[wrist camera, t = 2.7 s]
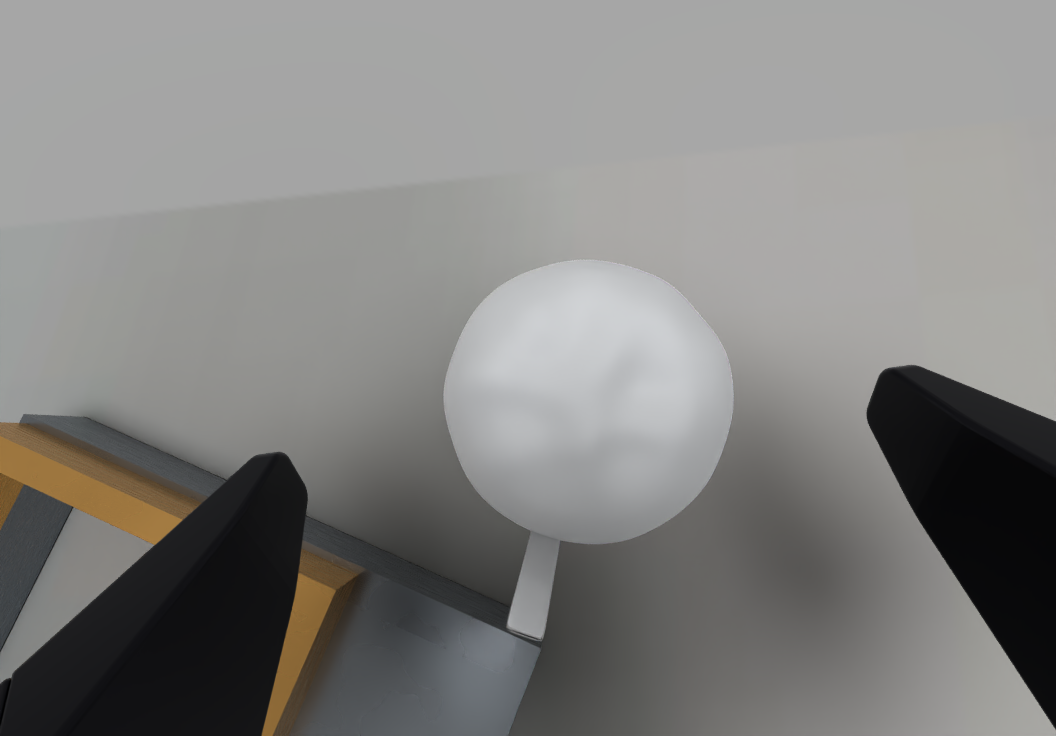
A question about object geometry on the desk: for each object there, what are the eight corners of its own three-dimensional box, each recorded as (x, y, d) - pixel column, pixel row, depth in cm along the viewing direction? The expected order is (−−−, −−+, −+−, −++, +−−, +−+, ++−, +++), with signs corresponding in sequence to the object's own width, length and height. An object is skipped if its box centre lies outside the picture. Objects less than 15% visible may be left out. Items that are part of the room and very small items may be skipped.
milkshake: (468, 490, 16) (340, 572, 6) (521, 328, 17) (481, 168, 7) (610, 538, 16) (714, 704, 6) (658, 370, 16) (826, 264, 6)
